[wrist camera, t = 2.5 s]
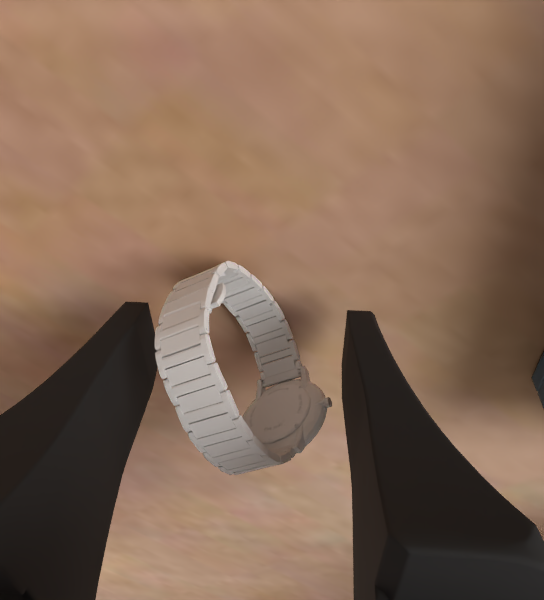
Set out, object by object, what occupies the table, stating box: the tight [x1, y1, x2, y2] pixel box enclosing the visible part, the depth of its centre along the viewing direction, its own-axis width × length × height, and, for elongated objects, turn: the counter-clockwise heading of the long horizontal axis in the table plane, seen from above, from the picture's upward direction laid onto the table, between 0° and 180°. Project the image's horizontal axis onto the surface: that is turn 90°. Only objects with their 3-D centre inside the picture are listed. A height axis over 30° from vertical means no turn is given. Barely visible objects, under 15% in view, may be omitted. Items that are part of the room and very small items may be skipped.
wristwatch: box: [155, 261, 332, 475], centre depth 13 cm, size 3×5×5 cm, turn 29°
